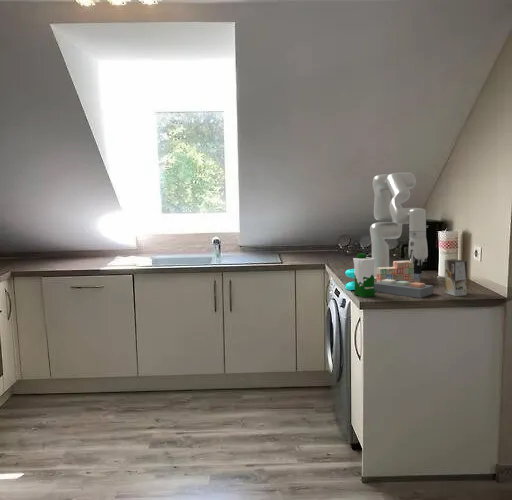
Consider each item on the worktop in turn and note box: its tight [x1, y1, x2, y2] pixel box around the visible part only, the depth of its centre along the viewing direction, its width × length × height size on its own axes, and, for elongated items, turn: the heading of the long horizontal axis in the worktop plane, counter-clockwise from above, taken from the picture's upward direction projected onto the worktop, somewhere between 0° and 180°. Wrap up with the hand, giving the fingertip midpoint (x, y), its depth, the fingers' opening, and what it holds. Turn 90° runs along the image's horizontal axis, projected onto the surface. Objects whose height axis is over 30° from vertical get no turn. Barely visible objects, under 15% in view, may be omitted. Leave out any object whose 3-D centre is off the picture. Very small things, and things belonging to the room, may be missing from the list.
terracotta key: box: [410, 282, 426, 288], centre depth 253 cm, size 5×5×3 cm
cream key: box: [381, 279, 395, 284], centre depth 265 cm, size 5×5×3 cm
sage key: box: [395, 281, 410, 286], centre depth 259 cm, size 5×5×3 cm
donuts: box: [345, 268, 355, 291], centre depth 271 cm, size 10×10×10 cm
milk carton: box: [352, 252, 376, 298], centre depth 254 cm, size 9×9×20 cm
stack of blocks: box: [376, 259, 421, 283], centre depth 281 cm, size 21×6×12 cm, turn 95°
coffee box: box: [444, 258, 468, 297], centre depth 251 cm, size 9×6×16 cm
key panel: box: [374, 281, 434, 299], centre depth 259 cm, size 26×12×4 cm, turn 43°
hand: (417, 273), depth 252 cm, fingers closed
